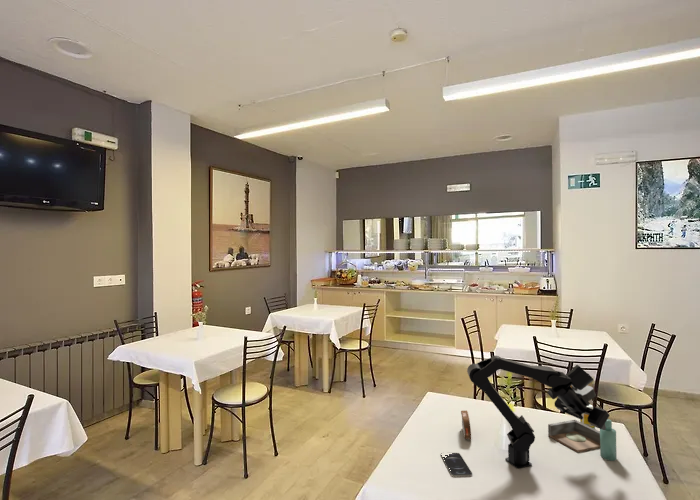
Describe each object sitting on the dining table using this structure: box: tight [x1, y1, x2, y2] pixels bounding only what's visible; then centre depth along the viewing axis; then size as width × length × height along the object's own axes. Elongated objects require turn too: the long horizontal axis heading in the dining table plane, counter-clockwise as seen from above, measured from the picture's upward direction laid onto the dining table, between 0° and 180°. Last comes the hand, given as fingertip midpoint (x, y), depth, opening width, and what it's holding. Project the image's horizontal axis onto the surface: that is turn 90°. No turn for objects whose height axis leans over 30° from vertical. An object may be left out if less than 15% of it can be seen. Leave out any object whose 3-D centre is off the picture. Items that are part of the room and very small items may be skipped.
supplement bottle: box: [579, 403, 596, 430], centre depth 167 cm, size 5×5×10 cm
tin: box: [460, 410, 472, 440], centre depth 162 cm, size 15×3×8 cm, turn 168°
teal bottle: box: [599, 418, 618, 462], centre depth 143 cm, size 5×5×14 cm
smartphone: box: [440, 452, 473, 478], centre depth 139 cm, size 8×1×15 cm
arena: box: [547, 419, 600, 453], centre depth 155 cm, size 14×14×5 cm
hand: (593, 423), depth 141 cm, fingers open, 9 cm apart
